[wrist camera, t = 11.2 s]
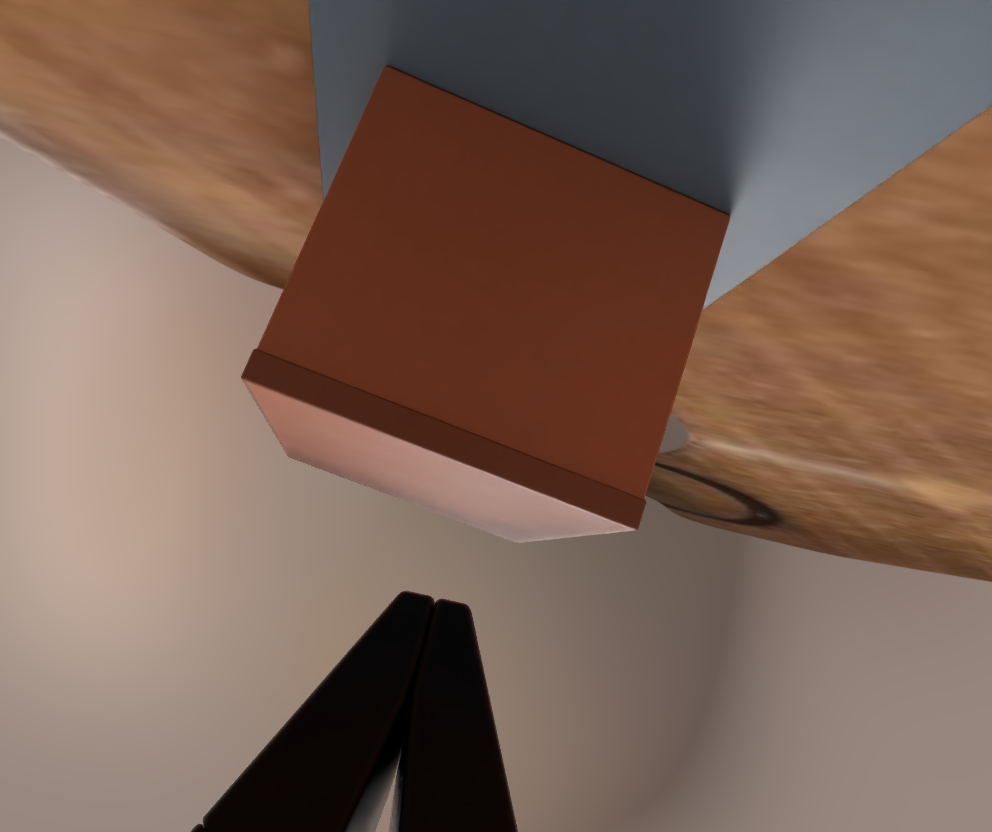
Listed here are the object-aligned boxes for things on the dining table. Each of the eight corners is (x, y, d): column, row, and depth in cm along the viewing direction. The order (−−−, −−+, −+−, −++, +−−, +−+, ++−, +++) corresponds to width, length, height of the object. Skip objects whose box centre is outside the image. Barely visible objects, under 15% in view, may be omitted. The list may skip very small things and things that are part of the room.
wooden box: (383, 60, 20) (239, 378, 18) (734, 214, 21) (638, 531, 19) (369, 263, 34) (287, 456, 32) (583, 350, 35) (517, 543, 33)
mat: (282, -423, 11) (276, -413, 11) (1128, 0, 12) (1125, 11, 12) (328, 255, 35) (327, 259, 35) (612, 370, 36) (611, 374, 36)
